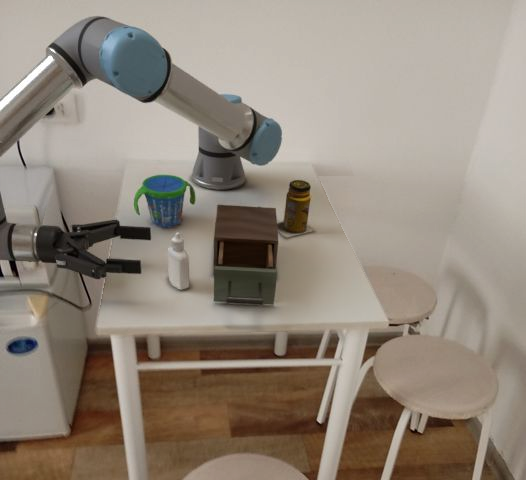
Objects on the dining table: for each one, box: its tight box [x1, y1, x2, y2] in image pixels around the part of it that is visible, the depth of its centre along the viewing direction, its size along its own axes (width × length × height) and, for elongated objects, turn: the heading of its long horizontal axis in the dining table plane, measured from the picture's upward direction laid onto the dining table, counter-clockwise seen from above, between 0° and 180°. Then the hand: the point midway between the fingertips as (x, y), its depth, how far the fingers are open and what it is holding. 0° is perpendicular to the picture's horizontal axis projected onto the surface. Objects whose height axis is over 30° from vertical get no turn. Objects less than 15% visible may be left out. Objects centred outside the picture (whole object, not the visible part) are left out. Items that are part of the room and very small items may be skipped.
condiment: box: [277, 179, 314, 238], centre depth 139 cm, size 7×8×12 cm
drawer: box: [213, 241, 278, 306], centre depth 115 cm, size 21×12×8 cm, turn 1°
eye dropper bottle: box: [167, 231, 190, 291], centre depth 116 cm, size 4×6×12 cm
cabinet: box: [213, 204, 279, 277], centre depth 126 cm, size 16×14×10 cm
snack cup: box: [133, 174, 196, 228], centre depth 137 cm, size 16×10×10 cm
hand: (146, 249), depth 114 cm, fingers open, 13 cm apart
